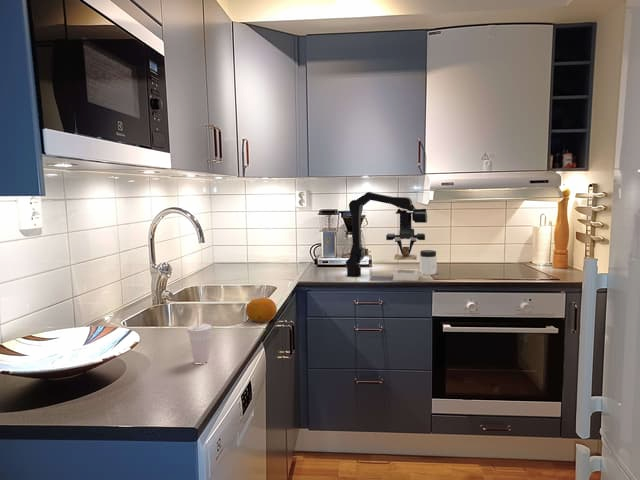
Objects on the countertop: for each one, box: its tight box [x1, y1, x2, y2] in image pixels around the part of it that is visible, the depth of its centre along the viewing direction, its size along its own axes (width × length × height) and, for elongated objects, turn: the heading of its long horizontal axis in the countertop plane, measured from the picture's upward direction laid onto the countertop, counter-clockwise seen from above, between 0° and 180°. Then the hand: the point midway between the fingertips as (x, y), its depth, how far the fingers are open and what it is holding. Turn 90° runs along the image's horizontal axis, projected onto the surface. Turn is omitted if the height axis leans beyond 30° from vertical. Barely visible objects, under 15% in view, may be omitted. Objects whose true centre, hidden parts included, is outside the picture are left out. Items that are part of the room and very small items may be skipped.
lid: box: [394, 246, 418, 261], centre depth 225 cm, size 10×10×6 cm
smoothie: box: [186, 311, 213, 364], centre depth 121 cm, size 6×6×14 cm
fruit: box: [245, 297, 278, 323], centre depth 159 cm, size 10×10×8 cm
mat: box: [369, 275, 393, 282], centre depth 228 cm, size 11×11×1 cm
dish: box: [392, 268, 419, 282], centre depth 227 cm, size 12×12×4 cm
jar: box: [419, 249, 438, 276], centre depth 240 cm, size 9×8×12 cm
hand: (405, 254), depth 225 cm, fingers closed on lid, 3 cm apart
